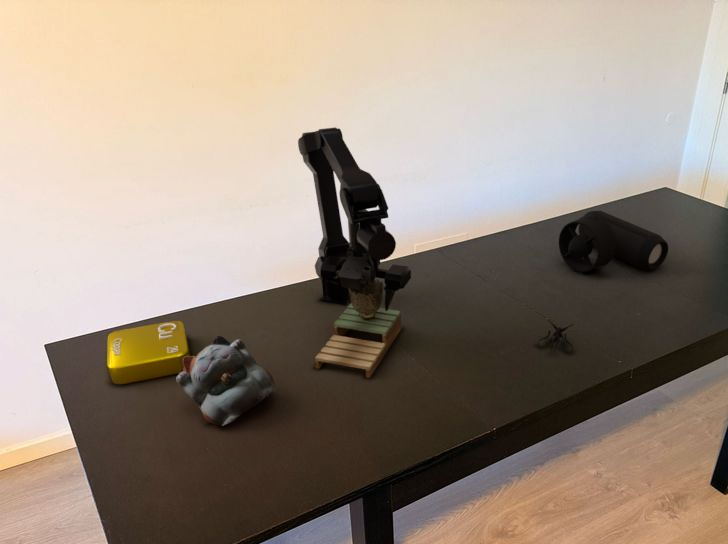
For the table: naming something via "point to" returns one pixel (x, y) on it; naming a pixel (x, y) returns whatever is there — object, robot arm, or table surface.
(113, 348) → the element tile
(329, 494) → the table surface
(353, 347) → the rack
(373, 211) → the robot arm
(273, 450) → the table surface
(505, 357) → the table surface
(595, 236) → the black round hollow piece
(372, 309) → the ornate brown dome cover
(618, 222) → the portable speaker
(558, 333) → the creature
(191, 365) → the lucky cat figurine
